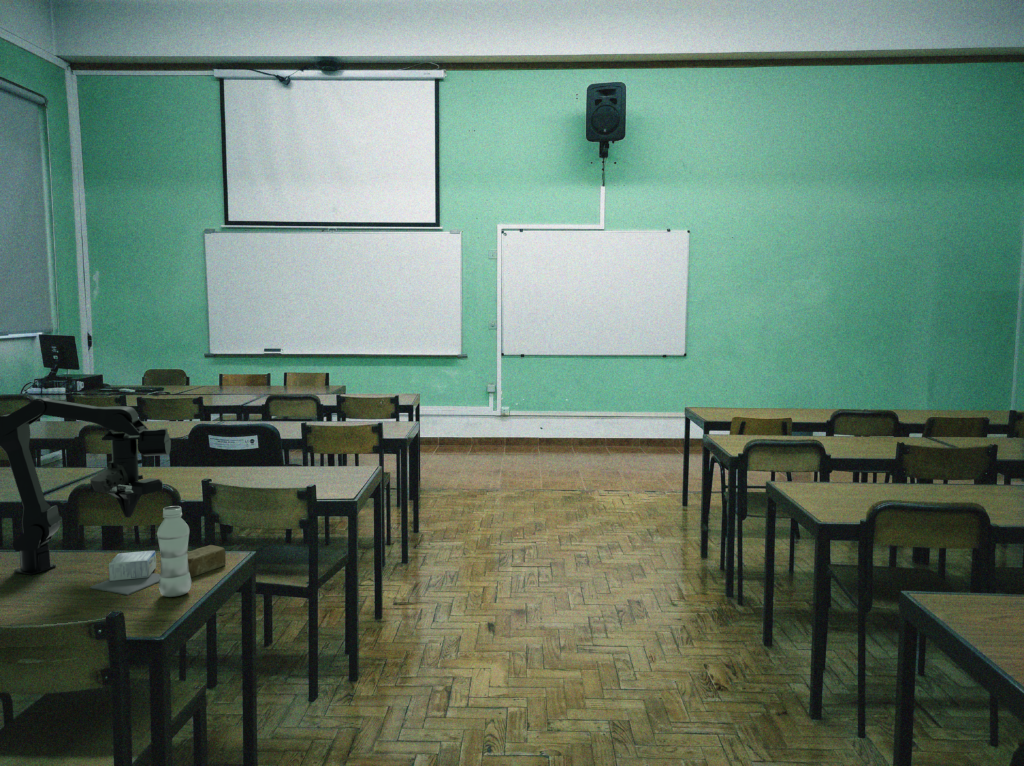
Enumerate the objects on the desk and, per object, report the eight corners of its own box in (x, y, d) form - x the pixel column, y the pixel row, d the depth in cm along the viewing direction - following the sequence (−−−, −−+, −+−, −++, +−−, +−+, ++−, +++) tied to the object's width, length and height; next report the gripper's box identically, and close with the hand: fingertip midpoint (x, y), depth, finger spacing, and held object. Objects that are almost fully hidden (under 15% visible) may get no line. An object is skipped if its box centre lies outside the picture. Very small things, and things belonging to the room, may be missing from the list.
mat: (89, 588, 162) (89, 586, 162) (134, 571, 173) (134, 569, 173) (127, 595, 158) (127, 593, 158) (170, 577, 169) (170, 576, 169)
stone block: (173, 575, 171) (173, 555, 170) (212, 561, 181) (212, 543, 180) (190, 579, 168) (189, 559, 168) (228, 565, 178) (228, 546, 178)
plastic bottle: (166, 589, 161) (162, 504, 159) (196, 589, 161) (193, 504, 160) (153, 600, 155) (149, 512, 153) (185, 600, 155) (181, 511, 153)
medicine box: (108, 581, 165) (148, 578, 168) (107, 563, 165) (148, 560, 167) (118, 570, 173) (156, 567, 175) (117, 552, 173) (155, 550, 175)
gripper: (68, 460, 173) (72, 522, 174) (124, 465, 166) (127, 529, 167) (109, 452, 183) (112, 510, 184) (162, 457, 176) (165, 517, 178)
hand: (128, 517), depth 178 cm, fingers closed
